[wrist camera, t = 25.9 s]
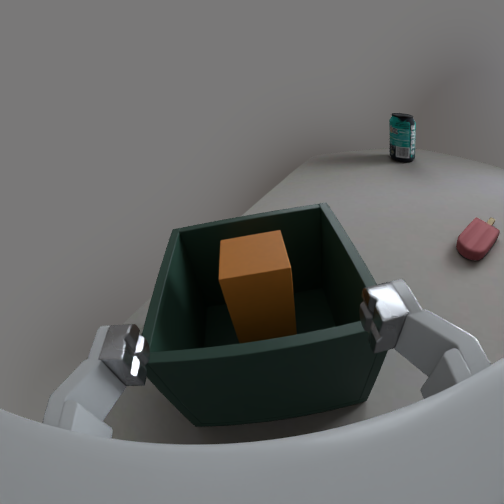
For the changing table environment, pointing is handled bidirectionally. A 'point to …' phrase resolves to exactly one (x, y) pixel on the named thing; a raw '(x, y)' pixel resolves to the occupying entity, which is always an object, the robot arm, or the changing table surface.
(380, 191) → the changing table surface
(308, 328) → the open green box
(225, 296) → the orange rectangular prism
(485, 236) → the popsicle
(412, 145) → the beverage can
